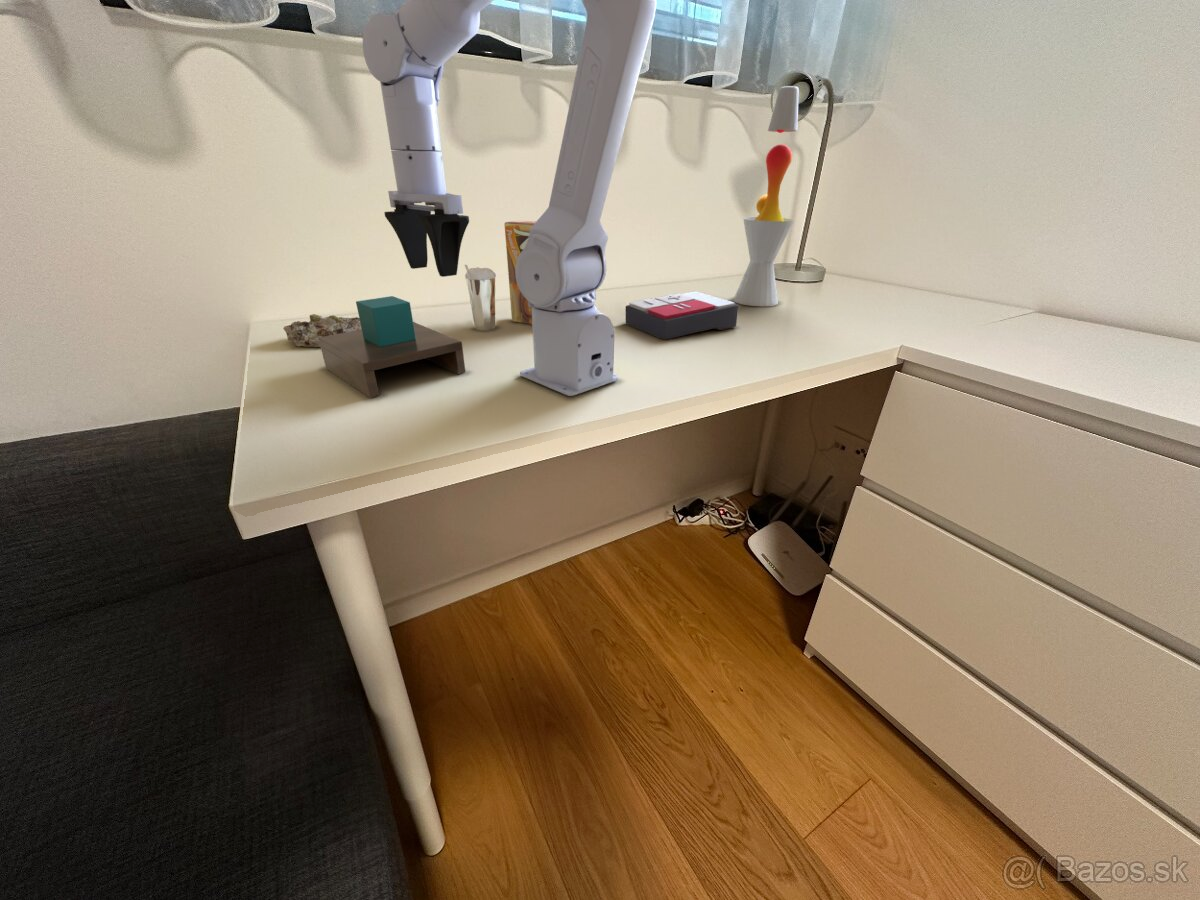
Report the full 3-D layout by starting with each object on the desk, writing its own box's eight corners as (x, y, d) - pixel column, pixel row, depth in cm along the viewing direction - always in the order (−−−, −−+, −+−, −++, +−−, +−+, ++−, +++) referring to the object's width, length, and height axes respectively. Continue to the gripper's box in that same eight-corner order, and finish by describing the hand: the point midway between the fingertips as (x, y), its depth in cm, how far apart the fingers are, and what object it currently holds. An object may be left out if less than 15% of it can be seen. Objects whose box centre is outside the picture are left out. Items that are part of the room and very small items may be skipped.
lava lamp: (788, 305, 98) (830, 84, 82) (745, 307, 97) (779, 81, 80) (764, 295, 106) (798, 91, 89) (724, 297, 104) (751, 89, 87)
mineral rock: (286, 336, 68) (277, 307, 72) (293, 364, 71) (283, 335, 75) (372, 328, 73) (358, 302, 78) (375, 354, 76) (361, 327, 81)
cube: (416, 339, 62) (410, 302, 60) (379, 347, 59) (372, 308, 57) (398, 332, 65) (392, 295, 62) (363, 339, 62) (355, 301, 60)
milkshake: (461, 330, 80) (453, 263, 75) (483, 322, 84) (477, 258, 79) (484, 334, 78) (477, 266, 73) (505, 326, 82) (500, 261, 78)
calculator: (624, 300, 83) (695, 287, 90) (624, 326, 86) (694, 312, 92) (665, 315, 75) (740, 300, 82) (664, 344, 77) (737, 326, 84)
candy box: (569, 322, 85) (567, 222, 78) (557, 328, 82) (554, 224, 74) (523, 316, 88) (517, 219, 81) (510, 322, 85) (503, 221, 77)
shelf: (465, 372, 63) (462, 341, 62) (370, 398, 56) (363, 363, 54) (415, 349, 71) (410, 320, 70) (325, 368, 64) (317, 337, 62)
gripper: (357, 150, 62) (378, 267, 69) (414, 149, 53) (433, 283, 60) (411, 152, 67) (426, 262, 73) (473, 151, 58) (484, 276, 64)
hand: (433, 271), depth 67 cm, fingers open, 7 cm apart
